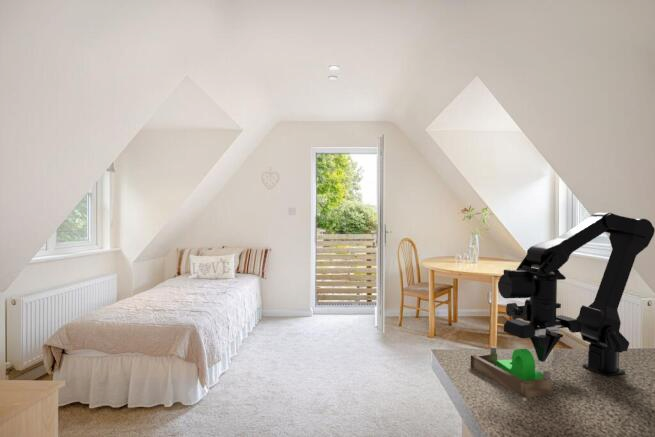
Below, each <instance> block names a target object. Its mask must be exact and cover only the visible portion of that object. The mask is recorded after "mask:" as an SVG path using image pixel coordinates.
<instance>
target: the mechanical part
mask: <svg viewBox="0 0 655 437" xmlns="http://www.w3.org/2000/svg"><path fill="white" fill-rule="evenodd" d="M496 366H497V367H499V368H501V369H503V370H505V371H507V372H509V373H511V374H513V375H514V376H516V377H518V378H520V379H522V380H524V381H530V380H536V379H542V378H543V373H542V372H540V371H538V370H537V369H536V361H535V358H534V355H533V353H532V352H531V351H530V350H529V349H527V348H516V349H514V350H513V351H512V354H511V359H497V365H496Z"/></svg>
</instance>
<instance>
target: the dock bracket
mask: <svg viewBox="0 0 655 437" xmlns="http://www.w3.org/2000/svg"><path fill="white" fill-rule="evenodd" d="M489 349H490V351H489V352H485V353H477V354H471V355H470V367H471V368H472V369H473V370H475V371H477V372H478V373H481V374H482V375H484V376H486V377H487V378H489V379H491V380H492V381H494V382H496V383H498V384H499V385H501V386H503V387H505V388H506V389H508V390H510V391H511V392H513V393H515V394H517V395H519V396H520V397H523V398H524V399H529V398H535V397H541V396H545V395H546V396H547V395H551V394H552V381H553V380H552V378H551V374H552V373H551V372H550V371H547V370H545V371H542V372H543V373H542V374H543V378H542V379H536V380H530V381H524V380H522V379H520V378H518V377H516V376H514V375H513V374H511V373H509V372H507V371H505V370H503V369H501V368H499V367H497V366H495V365H497V360H498V353H497V346H490V348H489Z"/></svg>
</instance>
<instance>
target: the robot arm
mask: <svg viewBox="0 0 655 437" xmlns="http://www.w3.org/2000/svg"><path fill="white" fill-rule="evenodd" d="M604 233H607V234H609V236H608V238H609V242H610V245H611V252H610V255H609V259H608V261H607V263H606V267H605V269H604V273H603V275H602V278H601V280H600V284H599V287H598V289H597V292H596V295H595V298H594V300H593V302H591V304H589V305H588V306H587V305H584V304H583V305H582V306H580V308H579V314H578V315H577V317H576V318H573V317H569V316H566V315H562V314H560V315H557V309H561V307H562V306H561V303H560V302H557V296H558V293H557V292H558V280H559V281H560V280H561V281H562V280H566V279H567V278H566V276H565V275H564V274H563V273H561V271H560V270H559V269H561V268H562V267H563V266H564V265H565V264H566V263H568V261H569V259H570V257H571V254H573V253H574V252H576V251H577V250H579V249H580V248H582V247H584V246H585V245H587V244H588V243H589V242H591V241H592V240H594V239H596V238H597V237H599V236H600V235H602V234H604ZM654 235H655V227H654V226H653V224H652V222H651V221H650V220H649V219H647V218H635V217H634V218H632V217H628V216H627V217H626V216H622V215H618V214H615V213H612V212H595V213H592V214H591V215H590V217H588V218H586V219H585V220H583V221H582V222H580V223H579V224H577V225H576V226H574V227H572V228H571V229H569V230H568V231H566V232H564V233H562V234H561V235H559V236H558V237H556V238H553V239H550V240H546V241H542V242H539V243H537V244H534V245H531V246H530V247H529V248H528V249H527V250H526V255H525V256H524V258H523V259H522V261H521V262H520V264H518V266H517V268H516V269H515V270H513V269H512V270H511V269H503V274H502V275H501V276H500V277H499V280H498V281H497V288H498V292H499V294H500V296H501V297H502V298H503V299H525V300H524V305H518V304H517V303H516V302H509V303H506V305H505V306H506V307H505V308H506V309H505V311H506V315H507V316H508V317H511V318H512V319H508V320H506V321H505V322H503V332H504V333H507V334H510V335H512V336H514V337H517V338H520V339H530V341H531V342H532V345H533V348H534V351H535V354H536V357H537V360H538V361H539V362H541V363H542V362H545V361H546V360H547V359H548V357H549V356H550V353H551V352H552V351H553V349H554V348H555V346H556V344H557V343H558V342H559V341H560V340H561V338H563V337H564V334H561V333H559V329H565V328H566V329H568V331H569V332H570V333H572V334H575V333H579V334H580V335H581V340H582V341H584V342H587V343H589V344H588V352H587V363H582V367H584V368H586V369H588V370H591V371H593V372H596V373H598V374H601V375H603V376H606V377H610V376H615V375H617V376H618V375H622V374H625V373H626V370H624V369H621V368H620V353H623V352H627V351H628V350H629V349H628V348H629V346H630V342H629V340H628V339H627V338H626V337H625V336H624V335H623V334H622V333H621V332H620V328H621V324H622V323H621V318H620V315H619V311H618V310H619V309H618V308H619V306H620V303H621V300H622V297H623V295H624V291H625V288H626V286H627V283H628V280H629V277H630V274H631V272H632V269H633V266H634V264H635V260H636V258H637V256H638V255H639V254H640V253H641V252H642V251H644V250H645V249H646V248H647V247H649V244H650V243H651V241H652V239H653V238H654Z"/></svg>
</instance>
